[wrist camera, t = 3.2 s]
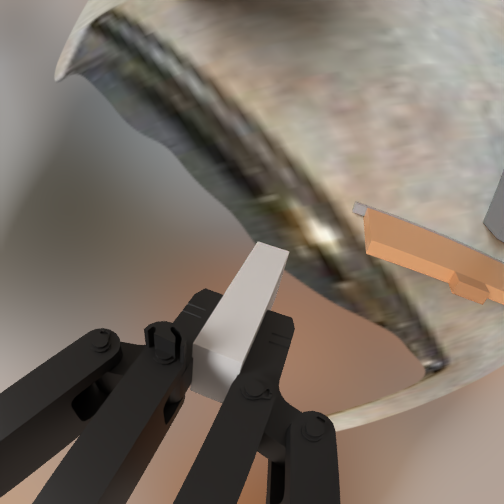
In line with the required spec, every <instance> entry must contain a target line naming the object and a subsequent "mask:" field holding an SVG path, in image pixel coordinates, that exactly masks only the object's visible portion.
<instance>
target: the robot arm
mask: <svg viewBox="0 0 504 504" xmlns="http://www.w3.org/2000/svg"><path fill="white" fill-rule="evenodd" d="M288 255H289V251H286V250H283V249H279V248H276V247H273V246H270V245H267V244H264V243H261V242H257V244H256V245H255V247H254V249H253V250H252V251H251V253H250V255H249V256H248V258H247V259H246V261H245V262H244V264H243V266H242V267H241V269H240V270H239V272H238V273H237V275H236V277H235V278H234V280H233V281H232V283H231V284H230V286H229V287H228V289H227V291H226V292H225V294H224V295H222V294H219V293H217V292H213V291H211V290H208V289H203V290H201V291H200V292H198V293H196V294H195V295H194V296H193V297H192V299H191V300H190V301H189V302H188V305H186V306H185V308H184V309H183V311H182V312H181V313H180V314H179V316H178V317H177V318H176V319H175V321H174V322H173V323H171V322H167V321H164V322H163V321H161V322H155V323H152V324H150V325H148V326H147V327H146V328H145V329H144V333H145V342H146V345H136V344H130V343H125V342H120V339H119V337H118V336H117V334H116V333H114V332H113V331H111V330H109V329H104V328H101V329H95V330H92V331H90V332H88V333H87V334H85V335H84V336H82V337H81V338H79V339H78V340H77V341H75V342H74V343H72V344H71V345H69V346H68V347H66V348H65V349H63V350H62V351H60V352H59V353H57V354H56V355H55V356H53V357H52V358H50V359H49V360H47V361H46V362H45V363H43V364H41V365H40V366H39V367H37V368H36V369H34V370H33V371H31V372H30V373H29V374H27V375H26V376H25V377H23V378H21V379H20V380H19V381H17V382H16V383H14V384H13V385H11V386H10V387H9V388H7V389H6V390H4V391H3V392H2V393H0V497H2V496H3V495H4V494H6V493H7V492H8V491H10V490H11V489H12V488H14V487H15V486H16V485H18V484H19V483H20V482H22V481H23V480H24V479H25V478H27V477H28V476H29V475H31V474H32V473H33V472H34V471H36V470H37V469H38V468H40V467H41V466H42V465H43V464H45V463H46V462H47V461H48V460H50V459H51V458H52V457H53V456H55V455H56V454H57V453H59V452H60V451H61V450H62V449H64V448H65V447H66V446H67V445H68V444H70V443H71V442H72V441H73V440H75V439H76V438H77V437H78V436H79V437H78V439H77V440H76V441H75V443H74V444H73V446H72V447H71V449H70V450H69V451H68V453H67V454H66V456H65V457H64V458H63V460H62V461H61V463H60V464H59V466H58V467H57V468H56V470H55V471H54V473H53V474H52V476H51V477H50V479H49V480H48V481H47V483H46V484H45V486H44V487H43V489H42V490H41V492H40V493H39V495H38V496H37V498H36V499H35V501H34V502H33V503H32V504H126V502H127V501H128V499H129V497H130V495H131V494H132V492H133V490H134V489H135V487H136V485H137V483H138V482H139V480H140V478H141V476H142V475H143V473H144V471H145V470H146V468H147V466H148V464H149V463H150V461H151V459H152V458H153V456H154V454H155V452H156V451H157V449H158V447H159V445H160V444H161V442H162V440H163V438H164V436H165V435H166V433H167V431H168V430H169V428H170V426H171V424H172V422H173V421H174V419H175V417H176V415H177V414H178V412H179V410H180V408H181V407H182V405H183V403H184V399H185V393H186V391H187V389H188V388H189V386H190V384H191V388H190V389H191V391H194V392H196V393H198V394H201V395H203V396H206V397H208V398H211V399H213V400H215V401H218V402H221V403H222V406H221V408H220V410H219V412H218V414H217V416H216V418H215V420H214V423H213V425H212V427H211V429H210V431H209V433H208V435H207V437H206V439H205V441H204V443H203V445H202V447H201V449H200V451H199V453H198V455H197V457H196V460H195V462H194V463H193V465H192V467H191V469H190V471H189V473H188V475H187V477H186V479H185V481H184V483H183V485H182V487H181V489H180V491H179V493H178V495H177V497H176V499H175V501H174V502H173V504H237V501H238V499H239V496H240V494H241V491H242V489H243V487H244V484H245V481H246V479H247V476H248V474H249V471H250V468H251V465H252V463H253V461H254V458H255V455H256V452H257V451H258V452H259V453H261V454H262V455H263V456H265V457H266V458H268V477H267V496H266V504H340V487H339V472H338V457H337V445H336V433H335V428H334V425H333V423H332V422H331V420H330V419H329V418H328V417H327V416H325V415H323V414H322V413H319V412H315V411H308V412H303V413H302V412H300V411H299V410H297V409H296V408H294V407H293V406H291V405H290V404H289V403H287V402H286V401H285V400H284V398H283V397H282V396H281V393H280V391H279V380H280V377H281V373H282V370H283V367H284V364H285V360H286V357H287V354H288V350H289V347H290V344H291V340H292V337H293V333H294V329H295V328H294V323H293V319H292V318H291V317H288V316H285V315H282V314H279V313H276V312H273V311H270V310H271V307H272V305H273V303H274V300H275V298H276V294H277V291H278V288H279V285H280V281H281V278H282V275H283V271H284V268H285V265H286V261H287V258H288Z"/></svg>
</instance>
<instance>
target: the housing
mask: <svg viewBox="0 0 504 504" xmlns="http://www.w3.org/2000/svg"><path fill="white" fill-rule="evenodd" d="M367 208H370V209H373V210H376V211H379V212H381V213H384V214H387V215H390V216H392V217H395V218H398V219H400V220H403V221H405V222H408V223H411V224H413V225H416V226H418V227H421V228H423V229H426V230H428V231H431V232H433V233H436V234H438V235H440V236H443V237H445V238H447V239H450V240H452V241H454V242H457V243H459V244H461V245H464V246H466V247H468V248H470V249H473V250H475V251H477V252H479V253H481V254H483V255H486V256H488V257H490V258H492V259H494V260H496V261H498V262H500V263H502V264H504V262H502V261H500V260H498V259H495V258H493V257H491V256H489V255H487V254H485V253H483V252H481V251H479V250H476V249H474V248H472V247H470V246H468V245H465V244H463V243H461V242H459V241H456V240H454V239H452V238H449V237H447V236H445V235H442V234H440V233H438V232H435V231H433V230H430V229H428V228H425V227H423V226H420V225H418V224H415V223H413V222H410V221H408V220H405V219H402V218H400V217H397V216H395V215H392V214H389V213H386V212H384V211H381V210H378V209H376V208H373V207H370V206H367V205H364V204H361V203H358V202H356V201H355V204H354V207H353V212H354V213H357V214H359V215H362V216H365V213H366V210H367ZM483 223H484V224H485V225H486V226H487V228H488V229H489V230H490V231H491V232H492V233H493V235H494V236H495V237H496V238H497V239H499V240H500V241H502V242H504V171H503V173H502V176H501V179H500V182H499V185H498V187H497V190H496V192H495V195H494V198H493V200H492V202H491V205H490V207H489V210H488V212H487V214H486V217H485V219H484V221H483Z"/></svg>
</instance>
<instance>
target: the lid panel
mask: <svg viewBox="0 0 504 504" xmlns="http://www.w3.org/2000/svg"><path fill="white" fill-rule="evenodd" d="M363 219H364V230H365V243H366V254H369V255H372V256H375V257H378V258H381V259H383V260H386V261H389V262H392V263H395V264H398V265H400V266H403V267H406V268H409V269H411V270H414V271H417V272H420V273H422V274H425V275H428V276H431V277H433V278H436V279H439V280H441V281H444V282H447V283H448V284H449V286H450V289H451V292H452V293H453V294H455V295H458V296H461V297H464V298H466V299H469V300H472V301H474V302H477V303H480V304H482V305H483V303H484V302H485V300H486V299H487V298H488V299H491V300H493V301H496V302H498V303H501V304H503V305H504V264H502V263H500V262H498V261H496V260H494V259H492V258H490V257H488V256H486V255H483V254H481V253H479V252H477V251H475V250H473V249H470V248H468V247H466V246H464V245H461V244H459V243H457V242H454V241H452V240H450V239H447V238H445V237H443V236H440V235H438V234H436V233H433V232H431V231H428V230H426V229H423V228H421V227H418V226H416V225H413V224H411V223H408V222H405V221H403V220H400V219H398V218H395V217H392V216H390V215H387V214H384V213H381V212H379V211H376V210H373V209H370V208H367V210H366V213H365V216H364V218H363Z"/></svg>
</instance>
